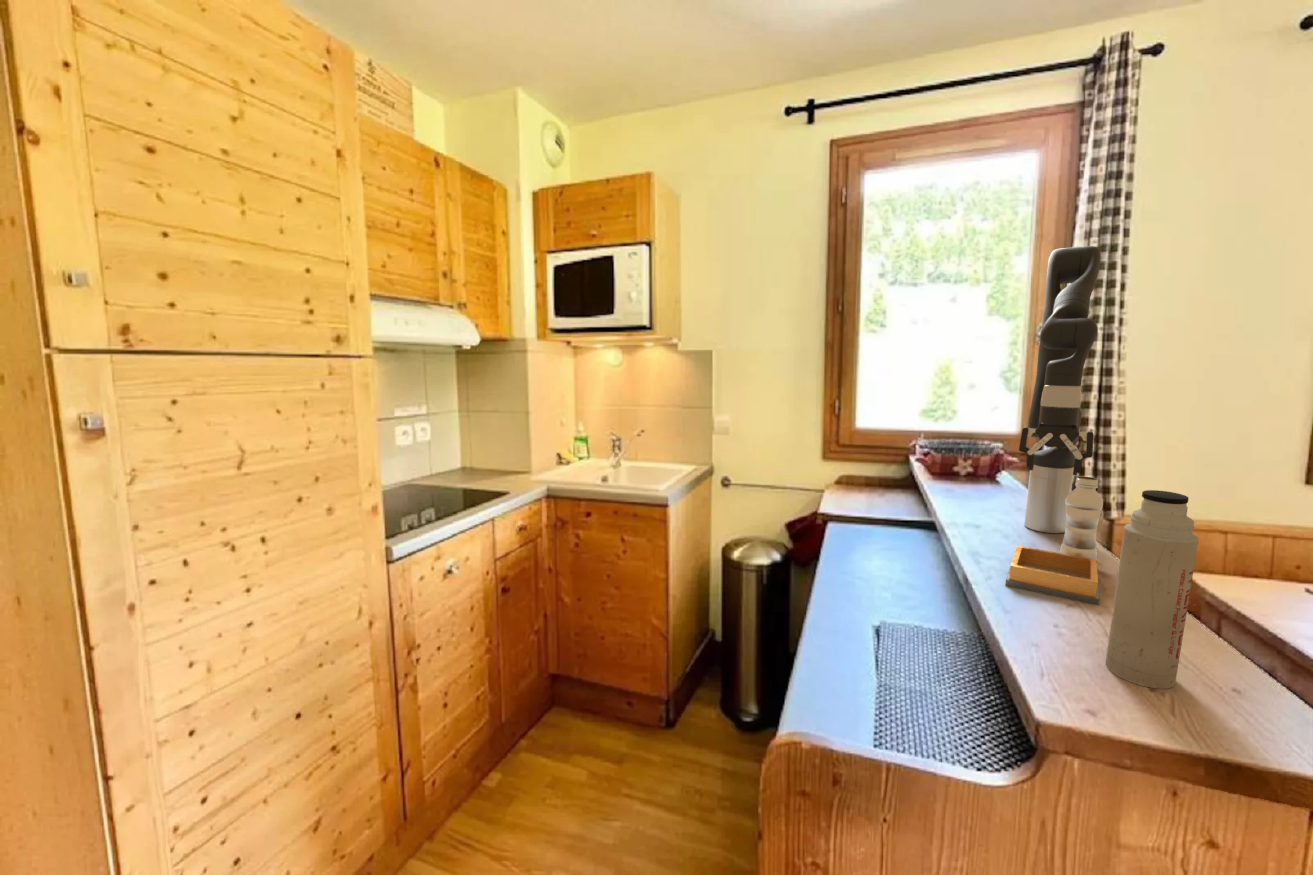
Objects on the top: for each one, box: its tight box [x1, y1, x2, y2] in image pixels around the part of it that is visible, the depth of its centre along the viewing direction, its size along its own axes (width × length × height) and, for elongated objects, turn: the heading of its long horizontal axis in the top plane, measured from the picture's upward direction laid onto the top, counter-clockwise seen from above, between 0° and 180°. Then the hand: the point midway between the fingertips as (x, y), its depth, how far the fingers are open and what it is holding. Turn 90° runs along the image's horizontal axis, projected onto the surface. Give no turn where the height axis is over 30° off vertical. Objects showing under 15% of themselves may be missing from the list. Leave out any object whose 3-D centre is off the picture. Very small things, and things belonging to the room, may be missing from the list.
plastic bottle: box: [1059, 475, 1104, 560], centre depth 121 cm, size 6×7×20 cm
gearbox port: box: [1005, 545, 1100, 606], centre depth 114 cm, size 15×15×4 cm
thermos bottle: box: [1105, 489, 1200, 690], centre depth 81 cm, size 8×8×28 cm
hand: (1052, 472), depth 133 cm, fingers open, 8 cm apart
